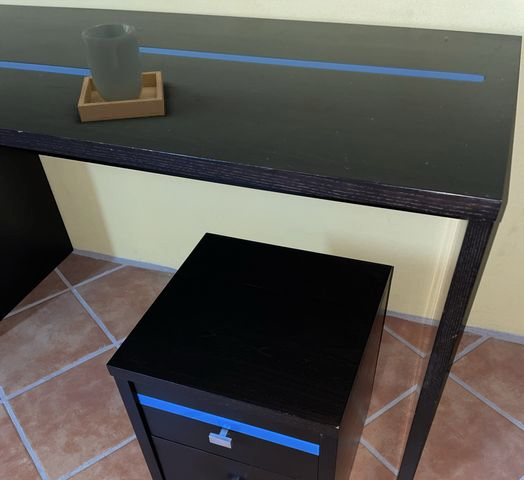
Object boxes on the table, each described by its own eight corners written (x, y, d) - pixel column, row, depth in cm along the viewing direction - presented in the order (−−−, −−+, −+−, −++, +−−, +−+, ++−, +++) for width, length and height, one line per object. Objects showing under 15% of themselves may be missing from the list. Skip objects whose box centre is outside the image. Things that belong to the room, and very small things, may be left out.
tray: (82, 123, 80) (77, 106, 78) (88, 93, 88) (84, 76, 86) (164, 116, 81) (162, 99, 79) (163, 87, 89) (160, 71, 87)
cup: (156, 95, 85) (144, 25, 78) (130, 113, 80) (115, 40, 73) (116, 89, 88) (101, 21, 80) (88, 106, 83) (70, 35, 75)
